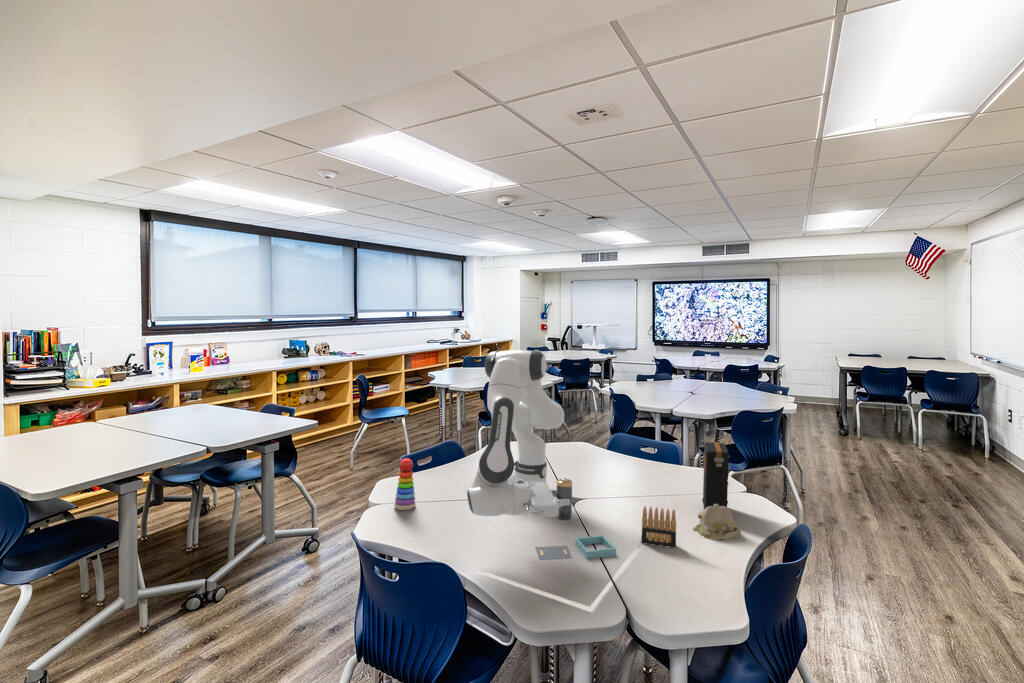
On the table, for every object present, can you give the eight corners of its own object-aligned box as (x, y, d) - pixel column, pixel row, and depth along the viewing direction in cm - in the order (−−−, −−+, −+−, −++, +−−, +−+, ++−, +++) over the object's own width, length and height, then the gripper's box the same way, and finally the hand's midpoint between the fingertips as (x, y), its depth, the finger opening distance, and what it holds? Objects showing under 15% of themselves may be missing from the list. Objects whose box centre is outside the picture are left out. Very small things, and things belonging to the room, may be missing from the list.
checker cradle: (539, 562, 143) (539, 559, 143) (535, 550, 151) (535, 546, 151) (572, 561, 144) (572, 557, 144) (566, 548, 152) (566, 545, 152)
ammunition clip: (676, 545, 155) (676, 508, 155) (676, 547, 153) (677, 510, 153) (641, 540, 158) (642, 504, 158) (641, 543, 156) (641, 506, 156)
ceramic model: (701, 540, 159) (701, 510, 159) (689, 525, 170) (690, 497, 170) (744, 541, 159) (745, 510, 158) (730, 526, 170) (731, 498, 169)
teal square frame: (586, 561, 144) (586, 552, 144) (575, 547, 153) (575, 538, 153) (615, 558, 146) (615, 548, 146) (602, 544, 155) (603, 535, 155)
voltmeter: (729, 521, 174) (731, 452, 172) (703, 518, 176) (705, 450, 175) (725, 506, 188) (727, 442, 187) (701, 503, 191) (703, 440, 190)
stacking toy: (398, 512, 179) (398, 462, 179) (391, 505, 186) (391, 457, 185) (418, 508, 184) (418, 459, 183) (411, 501, 190) (410, 454, 190)
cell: (553, 518, 146) (554, 480, 146) (560, 513, 150) (560, 475, 150) (568, 521, 144) (568, 482, 144) (574, 516, 148) (574, 478, 148)
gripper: (527, 502, 135) (576, 500, 137) (517, 477, 155) (560, 476, 157) (527, 524, 135) (575, 522, 137) (517, 497, 155) (559, 495, 157)
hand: (567, 497), depth 147 cm, fingers closed on cell, 5 cm apart
